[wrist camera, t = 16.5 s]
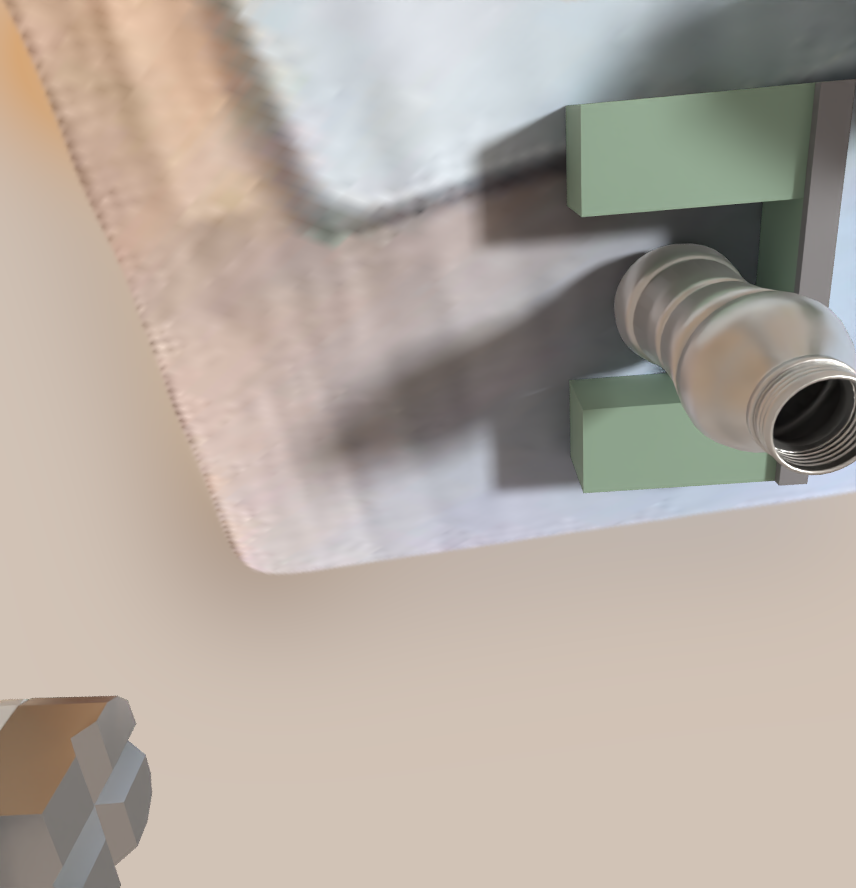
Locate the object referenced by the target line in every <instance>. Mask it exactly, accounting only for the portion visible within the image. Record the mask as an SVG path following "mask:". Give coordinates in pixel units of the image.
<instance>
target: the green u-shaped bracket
mask: <svg viewBox="0 0 856 888" xmlns="http://www.w3.org/2000/svg"><path fill="white" fill-rule="evenodd" d="M855 84H856V79H850V80H838V81H827V82H815V83H803V84H793V85H782V86H771V87H761V88H750V89H739V90H729V91H718V92H707V93H696V94H686V95H675V96H664V97H654V98H643V99H632V100H622V101H611V102H600V103H590V104H579V105H568V106H566V175H567V206H568V207H569V208H570V209H572V210H573V211H574V212H576V213H577V214H578V215H579V216H581V217H589V216H601V215H613V214H625V213H636V212H648V211H660V210H671V209H683V208H695V207H707V206H718V205H730V204H742V203H754V202H763V206H762V218H761V230H760V242H759V255H758V267H757V279H756V286H758V287H761V288H765V289H772V290H778V291H785V292H792V293H796V294H799V295H802V296H805V297H808V298H810V299H813V300H816V301H818V302H820V303H822V304H823V305H825V306H826V307H829V299H830V291H831V282H832V274H833V266H834V258H835V249H836V241H837V233H838V224H839V216H840V208H841V200H842V191H843V183H844V175H845V167H846V158H847V150H848V142H849V133H850V125H851V117H852V109H853V100H854V92H855ZM569 386H570V457H571V459H572V462H573V465H574V468H575V471H576V473H577V476H578V479H579V482H580V485H581V487H582V490H583V493H593V492H608V491H624V490H639V489H655V488H670V487H685V486H701V485H716V484H731V483H747V482H762V481H775V482H776V483H777V484H778V485H794V484H807V481H808V475H806V474H800V473H797V472H794V471H791V470H789V469H787V468H786V467H784V466H782V465H781V464H779V463H778V462H777V461H776V460H775V459H774V458H773V457H772V456H771V455H769V454H768V453H766V452H762V453H754V452H747V451H740V450H737V449H734V448H731V447H728V446H725V445H722V444H719V443H716V442H715V441H713V440H711V439H710V438H708V437H706V436H705V435H704V434H703V433H702V432H700V431H699V430H698V429H697V428H696V427H695V426H694V424H693V423H692V421H691V420H690V418H689V416H688V415H687V413H686V411H685V410H684V408H683V407H682V404H681V402H680V399H679V396H678V394H677V391H676V388H675V386H674V383H673V381H672V379H671V378H670V376H669V375H668V374H667V373H660V374H646V375H633V376H619V377H606V378H592V379H578V380H569Z"/></svg>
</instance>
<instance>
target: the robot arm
mask: <svg viewBox="0 0 856 888" xmlns="http://www.w3.org/2000/svg"><path fill="white" fill-rule="evenodd" d="M135 725H136V722H135V719H134V716H133V713H132V711H131V708H130V705H129V702H128V700H126V699H123V698H121V697H118V696H94V697H93V696H92V697H55V698H54V697H53V698H31V699H9V700H0V888H120V886H121V883H120V881H119V877H118V874H117V871H116V868H115V865H117V864H118V863H119V862H120V861H121V860H122V859H123V858H125V857H126V856H127V855H128V854H129V853H130V852H131V851H132V850H134V849H135V848H136V847H137V846H138V844H139V841H140V838H141V836H142V834H143V831H144V828H145V826H146V824H147V820H148V814H149V808H150V802H151V796H152V787H151V773H150V769H149V765H148V762H147V758H146V755H145V754H144V753H143V752H141V751H140V750H139V749H138V748H137V747H135V746H134V745H133V744H132V743H131V742H129V741H128V739H129V737H130V735H131V733H132V731H133V729H134V727H135Z"/></svg>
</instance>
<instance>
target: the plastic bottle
mask: <svg viewBox="0 0 856 888" xmlns="http://www.w3.org/2000/svg"><path fill="white" fill-rule="evenodd" d="M614 312H615V320H616V326H617V328H618V331H619V334H620V336H621V338H622V339H623V341H624V342H625V344H626V345H627V346H628V347H629V348H630V349H631V350H632V351H633V352H634V353H636V354H637V355H639V356H640V357H642V358H644V359H645V360H647V361H649V362H651V363H653V364H656V365H659V366H660V367H661V368H663V369H664V370H665V371H666V372H667V374H668V375H669V376H670V378H671V379H672V381H673V383H674V386H675V388H676V391H677V394H678V396H679V399H680V402H681V404H682V407H683V408H684V410H685V411H686V413H687V415H688V416H689V418H690V420H691V421H692V423H693V424H694V426H695V427H696V428H697V429H698V430H699V431H700V432H702V433H703V434H704V435H705V436H706V437H708V438H710V439H711V440H713V441H715V442H716V443H719V444H722V445H725V446H728V447H731V448H734V449H737V450H740V451H747V452H754V453H762V452H766V453H768V454H769V455H771V456H772V457H773V458H774V459H775V460H776V461H777V462H778V463H779V464H781V465H782V466H784V467H786V468H787V469H789V470H791V471H794V472H797V473H800V474H806V475H821V474H826V473H831V472H834V471H837V470H840V469H843V468H844V467H846V466H848V465H850V464H852V463H853V462H855V461H856V352H855V348H854V344H853V342H852V340H851V338H850V336H849V334H848V332H847V330H846V328H845V326H844V325H843V323H842V321H841V320H840V319H839V318H838V317H837V315H836V314H835V313H834V312H833V311H832V310H831V309H829V308H828V307H826V306H825V305H823V304H822V303H820V302H818V301H816V300H813V299H810V298H808V297H805V296H802V295H799V294H796V293H792V292H785V291H778V290H772V289H765V288H761V287H758V286H755V285H753V284H750V283H748V282H747V281H746V280H745V279H743V278H742V277H741V275H740V273H739V272H738V270H737V269H736V268H735V267H734V266H733V265H732V264H731V263H730V262H729V261H728V259H727V258H726V257H725V256H724V255H722V254H721V253H719V252H718V251H716V250H715V249H712V248H709V247H707V246H704V245H698V244H692V243H689V244H671V245H666V246H662V247H659V248H657V249H654V250H652V251H650V252H648V253H646V254H645V255H643V256H642V257H640V258H639V259H638V260H637V261H636V262H635V263H634V264H633V265H631V266H630V268H629V269H628V270H627V272H626V273H625V274H624V276H623V277H622V279H621V281H620V283H619V285H618V288H617V291H616V295H615V301H614Z"/></svg>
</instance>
